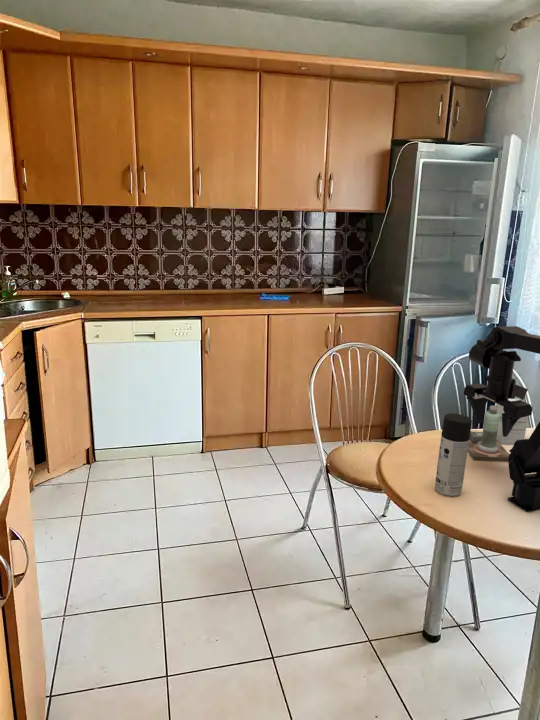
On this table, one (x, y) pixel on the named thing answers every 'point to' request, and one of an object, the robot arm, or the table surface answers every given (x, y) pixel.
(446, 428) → the spray can
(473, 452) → the digital kitchen scale
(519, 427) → the supplement box
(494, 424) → the ring stacking peg
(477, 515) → the table surface
